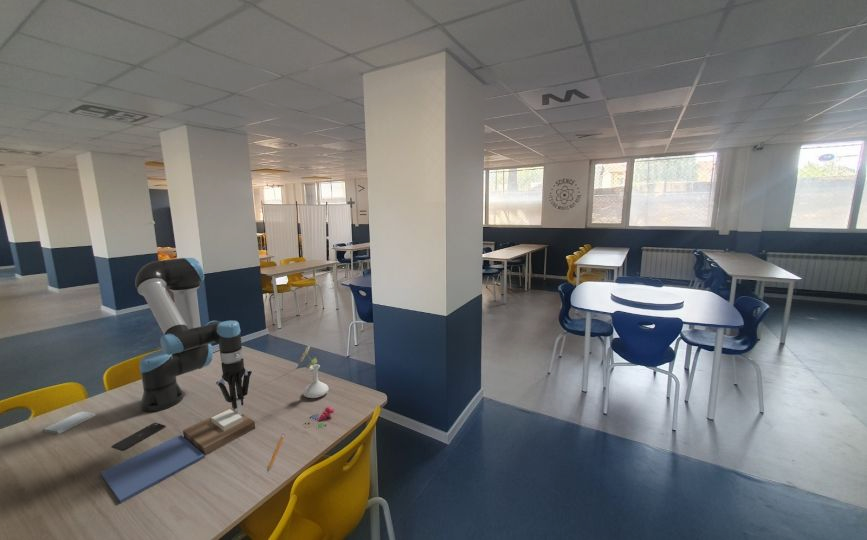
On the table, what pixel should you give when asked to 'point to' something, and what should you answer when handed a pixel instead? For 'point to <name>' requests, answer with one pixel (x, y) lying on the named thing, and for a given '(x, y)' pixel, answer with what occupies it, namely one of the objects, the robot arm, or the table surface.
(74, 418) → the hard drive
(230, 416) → the tile
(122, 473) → the mat
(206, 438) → the brown board
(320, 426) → the toy pieces
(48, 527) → the table surface
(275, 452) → the pencil
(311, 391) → the flower in vase
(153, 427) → the smartphone
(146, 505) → the table surface
